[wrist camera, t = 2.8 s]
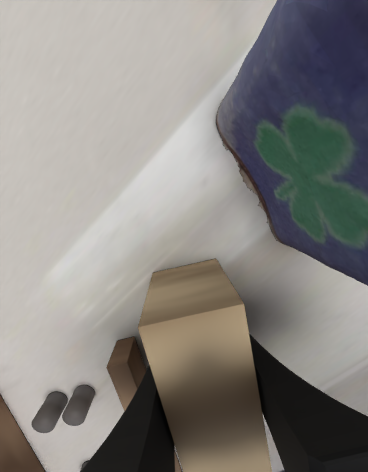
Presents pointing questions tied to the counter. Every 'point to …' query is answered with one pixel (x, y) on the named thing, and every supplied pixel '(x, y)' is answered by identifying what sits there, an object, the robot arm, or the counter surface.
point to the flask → (307, 128)
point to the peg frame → (70, 409)
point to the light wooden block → (204, 369)
